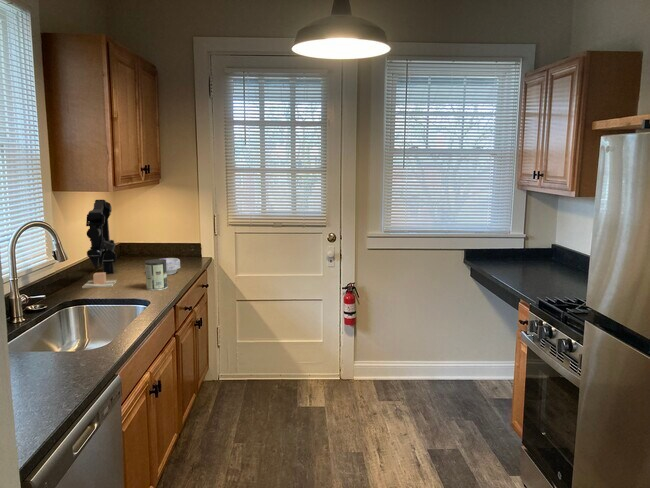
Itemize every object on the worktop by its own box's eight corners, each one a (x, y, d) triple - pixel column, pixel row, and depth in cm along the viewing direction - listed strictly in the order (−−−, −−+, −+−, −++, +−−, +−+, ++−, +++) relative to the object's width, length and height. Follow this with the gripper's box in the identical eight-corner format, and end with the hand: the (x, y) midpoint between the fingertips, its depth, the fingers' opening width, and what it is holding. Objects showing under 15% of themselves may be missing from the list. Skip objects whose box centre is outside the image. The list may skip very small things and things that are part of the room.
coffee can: (158, 284, 269) (157, 258, 266) (172, 287, 263) (170, 260, 261) (141, 288, 260) (140, 261, 258) (155, 291, 255) (153, 263, 252)
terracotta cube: (96, 282, 271) (95, 272, 270) (106, 281, 272) (105, 272, 271) (93, 284, 266) (93, 274, 265) (104, 283, 267) (103, 274, 266)
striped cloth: (89, 281, 274) (89, 280, 274) (117, 280, 277) (117, 279, 277) (82, 288, 261) (81, 286, 261) (111, 287, 263) (111, 285, 263)
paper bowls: (163, 269, 304) (163, 256, 303) (185, 271, 299) (185, 258, 298) (146, 275, 290) (146, 261, 289) (169, 277, 285) (169, 263, 284)
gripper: (109, 238, 257) (111, 269, 259) (117, 233, 275) (119, 262, 278) (85, 239, 255) (87, 270, 257) (94, 234, 273) (96, 263, 276)
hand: (98, 266), depth 267 cm, fingers open, 9 cm apart
